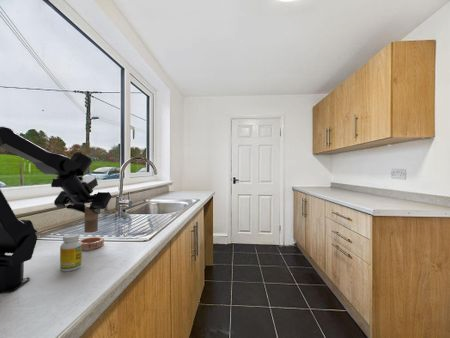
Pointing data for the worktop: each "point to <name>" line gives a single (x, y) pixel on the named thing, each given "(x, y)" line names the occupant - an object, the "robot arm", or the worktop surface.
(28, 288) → the worktop surface
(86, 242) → the ring
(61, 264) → the supplement bottle
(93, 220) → the brown cylinder
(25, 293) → the worktop surface
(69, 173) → the robot arm
